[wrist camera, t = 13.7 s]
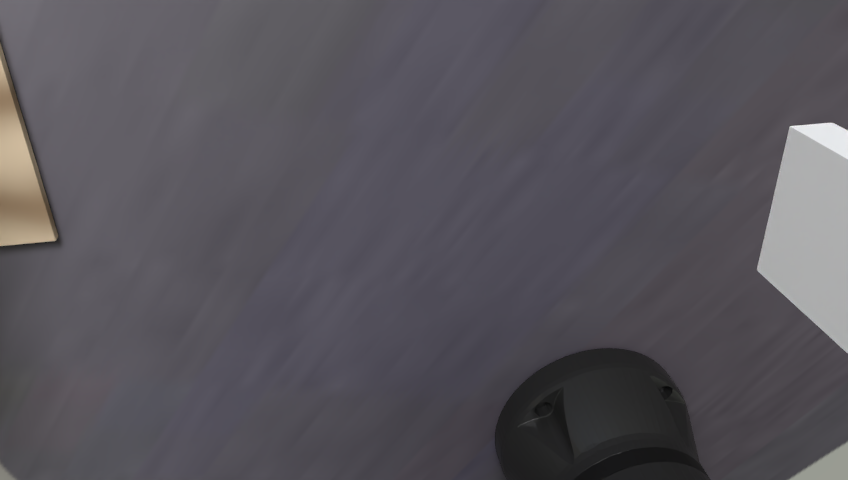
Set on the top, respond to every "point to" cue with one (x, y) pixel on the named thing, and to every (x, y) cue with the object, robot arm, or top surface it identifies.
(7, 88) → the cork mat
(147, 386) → the top surface
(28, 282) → the top surface
